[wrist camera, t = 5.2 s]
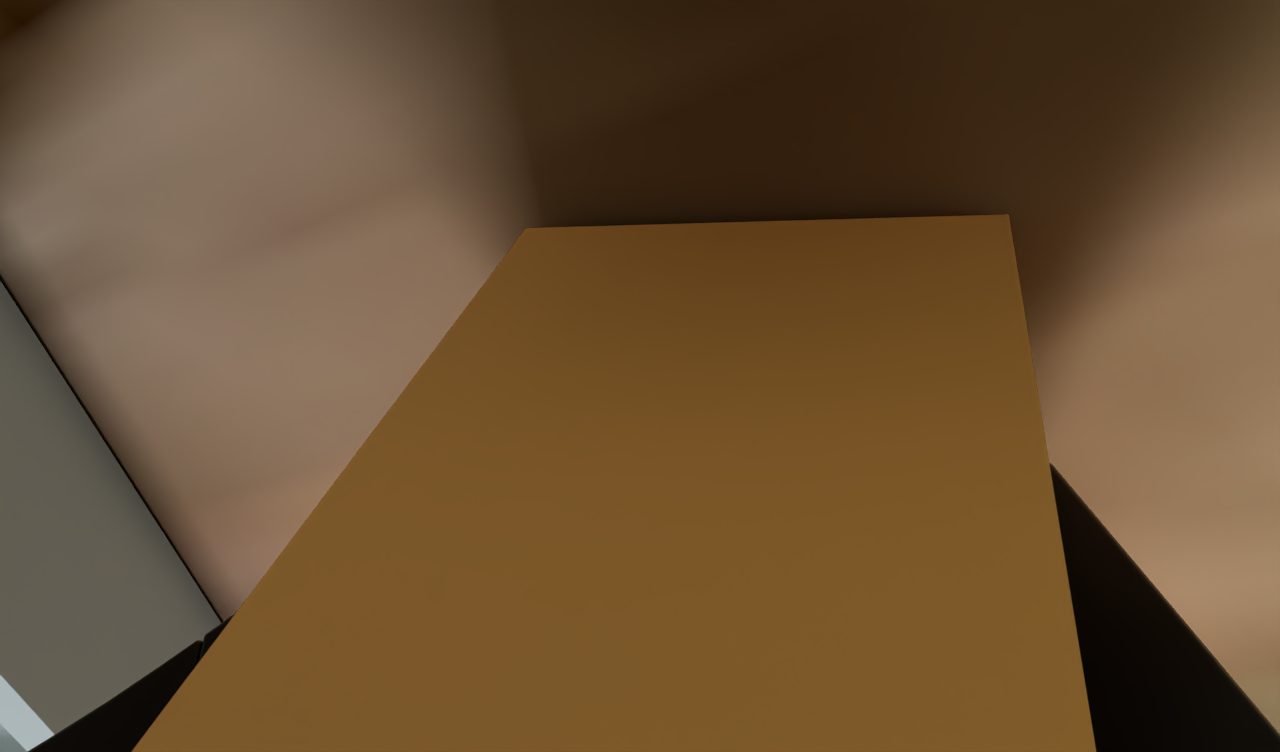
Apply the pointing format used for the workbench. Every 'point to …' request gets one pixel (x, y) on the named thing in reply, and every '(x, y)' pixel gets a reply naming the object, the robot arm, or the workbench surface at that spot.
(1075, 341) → the workbench surface
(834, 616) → the orange block
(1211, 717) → the robot arm
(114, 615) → the parts tray
